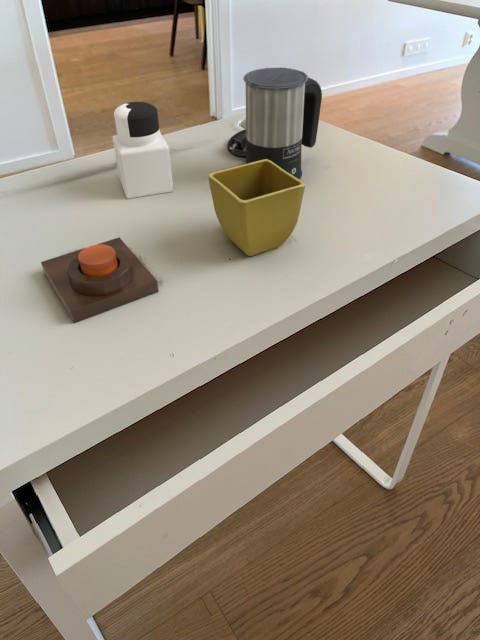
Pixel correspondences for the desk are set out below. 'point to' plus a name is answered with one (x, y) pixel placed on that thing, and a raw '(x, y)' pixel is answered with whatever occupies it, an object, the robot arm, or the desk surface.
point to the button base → (99, 282)
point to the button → (97, 260)
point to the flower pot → (256, 204)
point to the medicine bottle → (141, 151)
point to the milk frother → (278, 118)
